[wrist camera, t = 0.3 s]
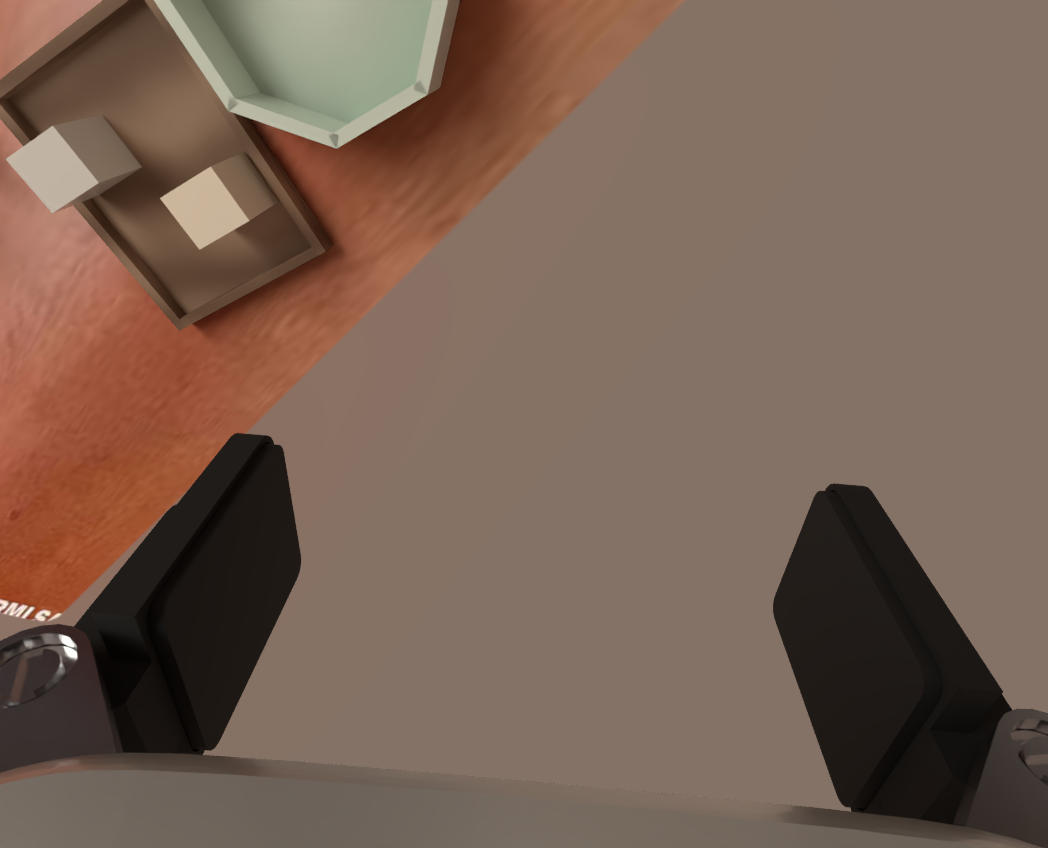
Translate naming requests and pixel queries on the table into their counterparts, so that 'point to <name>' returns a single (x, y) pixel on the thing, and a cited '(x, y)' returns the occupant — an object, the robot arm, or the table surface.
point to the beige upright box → (219, 200)
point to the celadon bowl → (317, 58)
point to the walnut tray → (160, 156)
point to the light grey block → (74, 162)
